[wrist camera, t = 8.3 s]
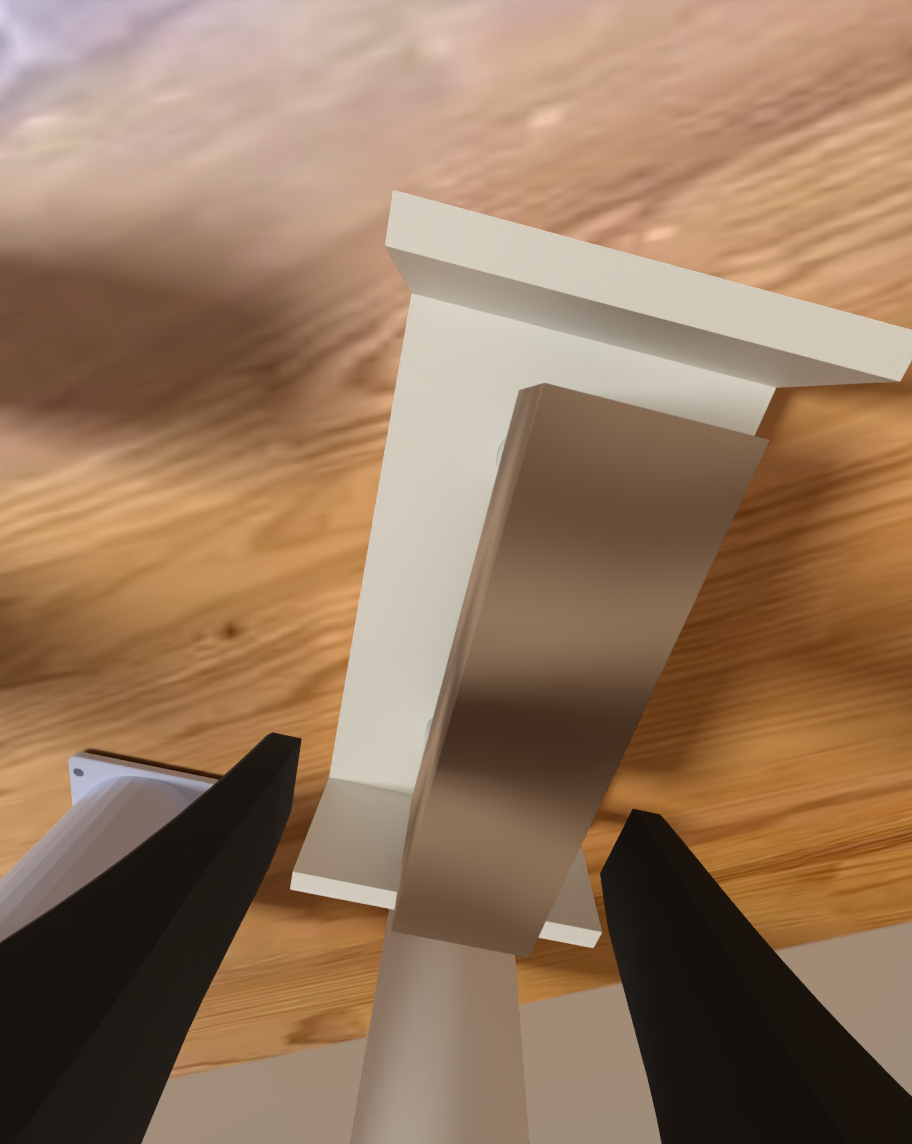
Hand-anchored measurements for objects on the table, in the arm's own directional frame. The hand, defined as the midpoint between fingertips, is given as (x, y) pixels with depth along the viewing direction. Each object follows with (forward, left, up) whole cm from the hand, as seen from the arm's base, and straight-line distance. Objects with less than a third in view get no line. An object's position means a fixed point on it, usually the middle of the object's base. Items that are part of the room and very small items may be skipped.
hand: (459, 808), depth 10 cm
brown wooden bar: (+1, -2, -7) cm, 7 cm away
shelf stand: (+1, -2, -10) cm, 10 cm away
